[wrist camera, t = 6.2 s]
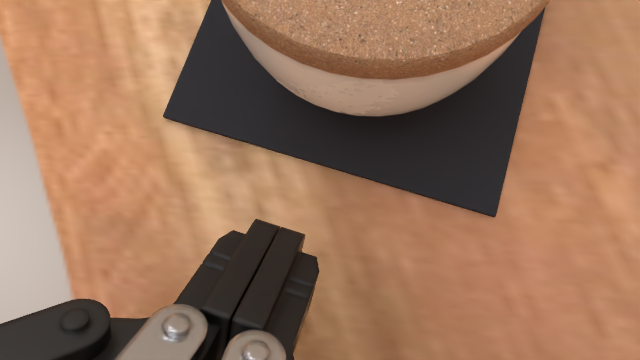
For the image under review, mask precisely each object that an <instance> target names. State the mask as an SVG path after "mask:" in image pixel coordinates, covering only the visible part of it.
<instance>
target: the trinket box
mask: <svg viewBox="0 0 640 360" xmlns="http://www.w3.org/2000/svg"><path fill="white" fill-rule="evenodd" d="M221 1H222V3H223V5H224V8H225V10H226V12H227V14H228V16H229V18H230V20H231V23H232V25H233V27H234V28H235V30H236V31H237V33H238V34H239V36H240V37H241V39H242V40H243V42H244V43H245V45H246V46H247V47H248V49H249V50H250V52H251V53H252V55H253V56H254V58H255V59H256V60H257V61H258V62H259V63H260V64H261V65H262V66H263V67H264V68H265V69H266V70H267V71H268V72H269V73H270V74H271V75H272V76H273V77H274V78H275V79H276V80H277V81H278V82H279V83H280V84H282V85H283V86H284V87H286V88H287V89H288V90H290V91H291V92H292V93H294V94H295V95H297V96H299V97H301V98H303V99H305V100H306V101H308V102H310V103H312V104H314V105H317V106H320V107H323V108H326V109H329V110H332V111H334V112H340V113H345V114H350V115H356V116H388V115H396V114H403V113H407V112H411V111H414V110H418V109H422V108H425V107H427V106H429V105H431V104H434V103H436V102H438V101H440V100H443V99H444V98H446V97H448V96H450V95H451V94H453V93H454V92H456V91H458V90H459V89H461V88H462V87H464V86H465V85H467V84H468V83H470V82H471V81H473V80H474V79H475V78H476V77H477V76H479V75H480V74H481V73H482V72H483V71H484V70H485V69H486V68H487V67H489V66H490V65H491V64H492V63H493V62H494V61H495V60H496V59H497V58H498V57H500V56H501V55H502V54H503V53H504V52H505V51H506V49H507V48H508V47H509V46H510V45H511V43H512V42H513V41H514V40H515V39H516V37H517V36H518V35H519V34H520V32H521V31H522V30H523V29H524V28H525V27H526V26H527V25H528V24H530V23H531V22H532V21H533V20H534V19H535V18H536V17H537V16H538V15H539V14H540V13H541V11H542V10H543V9H544V7H545V6H546V5H547V4H548V2H549V1H550V0H221Z"/></svg>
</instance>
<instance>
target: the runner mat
mask: <svg viewBox="0 0 640 360" xmlns="http://www.w3.org/2000/svg"><path fill="white" fill-rule="evenodd" d="M544 9H545V7H544ZM544 9H543V10H542V11H541V13H540V14H539V15H538V16H537V17H536V18H535V19H534V20H533V21H532V22H531V23H530V24H528V25H527V26H526V27H525V28H524V29H523V30H522V31H521V32H520V34H519V35H518V36H517V37H516V39H515V40H514V41H513V42H512V43H511V45H510V46H509V47H508V48H507V49H506V51H505V52H504V53H503V54H502V55H501V56H500V57H498V58H497V59H496V60H495V61H494V62H493V63H492V64H491V65H490V66H489V67H487V68H486V69H485V70H484V71H483V72H482V73H481V74H480V75H479V76H477V77H476V78H475V79H474V80H473V81H471V82H470V83H468V84H467V85H465V86H464V87H462V88H461V89H459V90H458V91H456V92H454V93H453V94H451V95H450V96H448V97H446V98H444V99H443V100H440V101H438V102H436V103H434V104H431V105H429V106H427V107H425V108H422V109H418V110H414V111H411V112H407V113H403V114H396V115H388V116H356V115H350V114H345V113H340V112H334V111H332V110H329V109H326V108H323V107H320V106H317V105H314V104H312V103H310V102H308V101H306V100H305V99H303V98H301V97H299V96H297V95H295V94H294V93H292V92H291V91H290V90H288V89H287V88H286V87H284V86H283V85H282V84H280V83H279V82H278V81H277V80H276V79H275V78H274V77H273V76H272V75H271V74H270V73H269V72H268V71H267V70H266V69H265V68H264V67H263V66H262V65H261V64H260V63H259V62H258V61H257V60H256V59H255V58H254V56H253V55H252V53H251V52H250V50H249V49H248V47H247V46H246V45H245V43H244V42H243V40H242V39H241V37H240V36H239V34H238V33H237V31H236V30H235V28H234V27H233V25H232V23H231V20H230V18H229V16H228V14H227V12H226V10H225V8H224V5H223V3H222V1H221V0H211V2H210V5H209V7H208V9H207V12H206V14H205V17H204V19H203V21H202V24H201V26H200V29H199V31H198V33H197V36H196V38H195V41H194V43H193V45H192V48H191V50H190V53H189V55H188V57H187V60H186V62H185V65H184V67H183V69H182V72H181V74H180V77H179V79H178V81H177V84H176V86H175V88H174V91H173V93H172V96H171V98H170V100H169V103H168V105H167V108H166V110H165V112H164V115H163V117H164V118H167V119H170V120H173V121H176V122H180V123H183V124H186V125H190V126H193V127H196V128H200V129H203V130H206V131H210V132H213V133H216V134H220V135H223V136H226V137H230V138H233V139H236V140H240V141H243V142H246V143H250V144H253V145H256V146H260V147H263V148H266V149H270V150H273V151H276V152H280V153H283V154H286V155H289V156H293V157H296V158H299V159H303V160H306V161H309V162H313V163H316V164H319V165H323V166H326V167H329V168H333V169H336V170H339V171H343V172H346V173H349V174H353V175H356V176H359V177H363V178H366V179H369V180H373V181H376V182H379V183H383V184H386V185H389V186H393V187H396V188H399V189H402V190H406V191H409V192H412V193H416V194H419V195H422V196H426V197H429V198H432V199H436V200H439V201H442V202H446V203H449V204H452V205H456V206H459V207H462V208H466V209H469V210H472V211H476V212H479V213H482V214H486V215H489V216H492V217H495V216H496V212H497V208H498V204H499V199H500V195H501V191H502V187H503V183H504V178H505V174H506V170H507V166H508V161H509V157H510V153H511V149H512V145H513V140H514V136H515V132H516V128H517V123H518V119H519V115H520V111H521V107H522V102H523V98H524V94H525V90H526V85H527V81H528V77H529V73H530V69H531V64H532V60H533V56H534V52H535V47H536V43H537V39H538V35H539V31H540V26H541V22H542V18H543V14H544Z"/></svg>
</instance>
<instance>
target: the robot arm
mask: <svg viewBox="0 0 640 360" xmlns="http://www.w3.org/2000/svg"><path fill="white" fill-rule="evenodd" d="M304 240H305V234H302V233H299V232H296V231H293V230H290V229H286V228H283V227H281V228H280V226H277V225H274V224H270V223H267V222H264V221H261V220H258V219H256V220H255V221H254V222H253V223H252V225H251V227H250V228H249V230H248V231H247V233H246V234H243V233H240V232H237V231H234V230H233V231H231V232H229V233H228V234H226V235H225V236H223V237H221V238H220V239H218V241H217V242H216V244H215V245H214V247H213V248H212V249H211V251H210V254H208V255H207V257H206V258H205V260H204V261H203V264H201V265H200V267H199V268H198V270H197V271H196V273H195V274H194V275H193V277H192V278H191V280H190V281H189V283H188V284H187V285H186V287H185V288H184V290H183V291H182V293H181V294H180V296H179V297H178V298H177V300H176V301H175V302H174V304H173V305H169V306H166V307H163V308H161V309H159V310H158V311H156V312H155V313H154V314H153V315H152V316H151V317H149V318H142V319H130V318H110V314H109V311H108V309H107V308H106V307H105V306H104V305H103V304H101V303H100V302H98V301H95V300H91V299H76V300H71V301H68V302H64V303H61V304H58V305H55V306H52V307H49V308H47V309H44V310H41V311H38V312H35V313H32V314H29V315H26V316H23V317H20V318H17V319H14V320H11V321H8V322H5V323H2V324H0V360H294V357H293V353H294V350H295V347H296V344H297V341H298V338H299V335H300V333H301V330H302V327H303V324H304V321H305V318H306V315H307V313H308V310H309V307H310V303H311V299H312V296H313V292H314V289H315V285H316V281H317V278H318V274H319V268H318V262H317V257H315V256H312V255H309V254H306V253H302V248H303V244H304Z"/></svg>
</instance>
